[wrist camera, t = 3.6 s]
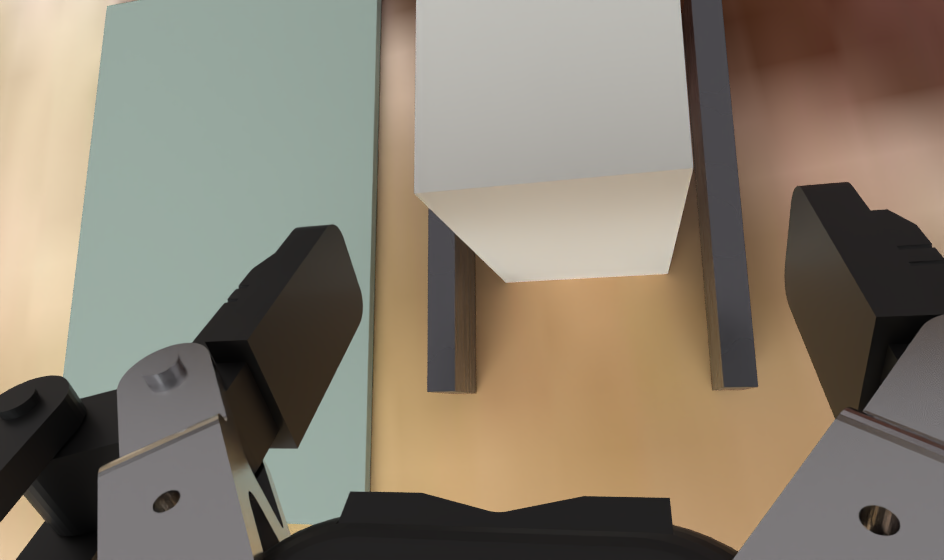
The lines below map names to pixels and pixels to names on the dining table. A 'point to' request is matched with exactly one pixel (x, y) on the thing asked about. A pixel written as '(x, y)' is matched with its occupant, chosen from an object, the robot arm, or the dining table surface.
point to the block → (554, 132)
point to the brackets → (716, 224)
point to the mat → (230, 196)
